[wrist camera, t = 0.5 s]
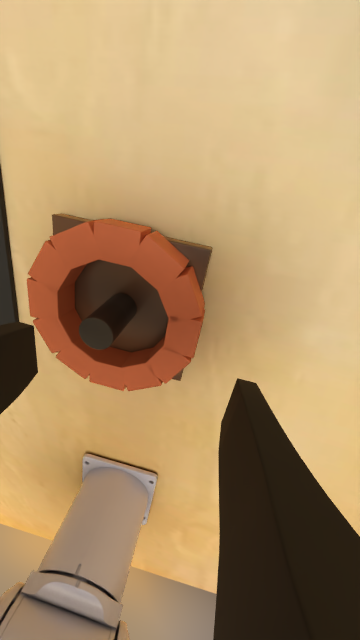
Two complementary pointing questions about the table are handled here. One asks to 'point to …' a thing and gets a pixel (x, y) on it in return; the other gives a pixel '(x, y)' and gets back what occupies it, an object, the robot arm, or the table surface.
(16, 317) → the tray
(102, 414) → the table surface
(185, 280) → the ring
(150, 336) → the stand
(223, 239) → the table surface
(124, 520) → the robot arm
